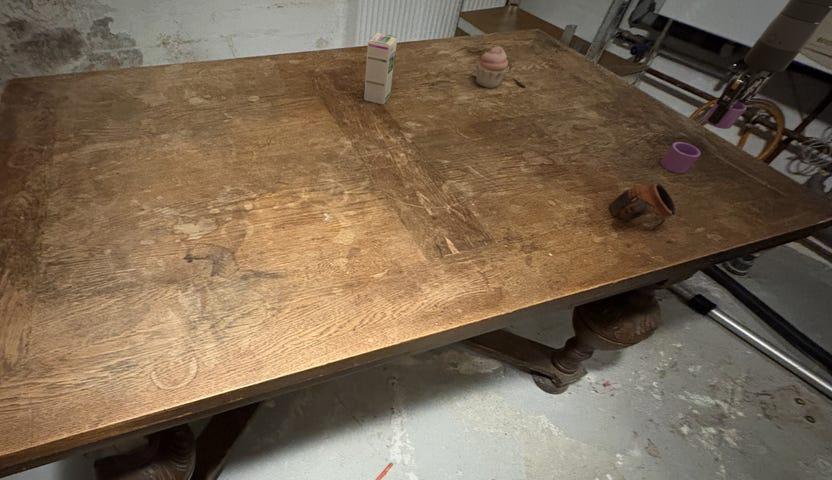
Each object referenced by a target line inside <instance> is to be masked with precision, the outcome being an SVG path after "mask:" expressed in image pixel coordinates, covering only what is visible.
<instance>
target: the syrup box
mask: <svg viewBox="0 0 832 480" xmlns="http://www.w3.org/2000/svg"><path fill="white" fill-rule="evenodd" d="M397 45H398V37H397V36H394V35H391V34H387V33H382V32H381V33H379V32H375V34H374V35H373V36H372V37H370V39H369V40H368V41H367V47H366V60H365V61H366V63H365V76H364V91H363V100H364V101H366V102H369V103H373V104H378V105H382V106H384V105H385V104H386V103H387V101H388V100H389V98H390V97H391V95H392V87H393V78H394V70H395V69H394V68H395V64H396V63H395V62H396V61H395V60H396V55H397V54H396V53H397Z"/></svg>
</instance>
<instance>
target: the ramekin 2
mask: <svg viewBox="0 0 832 480" xmlns="http://www.w3.org/2000/svg"><path fill="white" fill-rule="evenodd" d="M729 100H730V97H729V98H728V99H727V100H726V101H729ZM716 102H717V100H716V101H715V102H714V104H713V105H712V106H711V108H710V109H709V110H708V111H707V113H706V114H705V116H704V117H703V121H704V122H705V123H707V124H708V125H710V126H712V127H714V128H717V129H722V130H728V129H731V128H732V127H733V126H734V125H735V124H736V122H737V121H738V120H739V119H740V117H741V116H742V115H743V114H744V113H745V112H746V110H747V106H746V105H745V103H744V104H743V103H741V102H739V101H737V102H736V103H735V104H734V105H733V107H732V108H730V110H729V111H728V112H727V113H726V115H725V116H724V117H723V118H722V120H721V121H720V122H719V123H718V124H713V123H711V122H709V121H708V118H709V117H710V116H711V115H712V113H713V112H714V111H715V109H716V108H717V107H718V106H719V105H718V104H716Z"/></svg>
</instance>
